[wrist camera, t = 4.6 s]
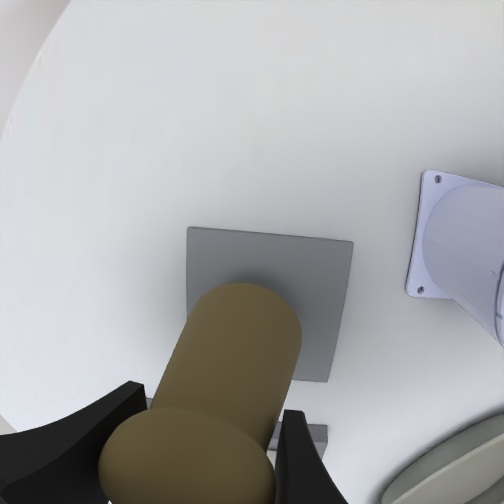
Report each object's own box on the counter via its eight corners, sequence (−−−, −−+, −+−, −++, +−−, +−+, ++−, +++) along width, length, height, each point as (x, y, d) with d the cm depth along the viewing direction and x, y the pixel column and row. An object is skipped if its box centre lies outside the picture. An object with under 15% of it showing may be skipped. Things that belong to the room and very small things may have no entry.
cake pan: (522, 471, 22) (531, 490, 17) (377, 535, 27) (379, 557, 23) (558, 358, 18) (579, 379, 13) (350, 460, 23) (354, 497, 19)
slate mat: (352, 241, 18) (353, 243, 18) (326, 378, 20) (327, 382, 20) (189, 226, 19) (186, 228, 19) (190, 361, 22) (188, 365, 21)
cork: (291, 389, 16) (265, 573, 6) (187, 369, 17) (96, 523, 6) (313, 293, 14) (314, 512, 4) (190, 272, 15) (36, 422, 5)
